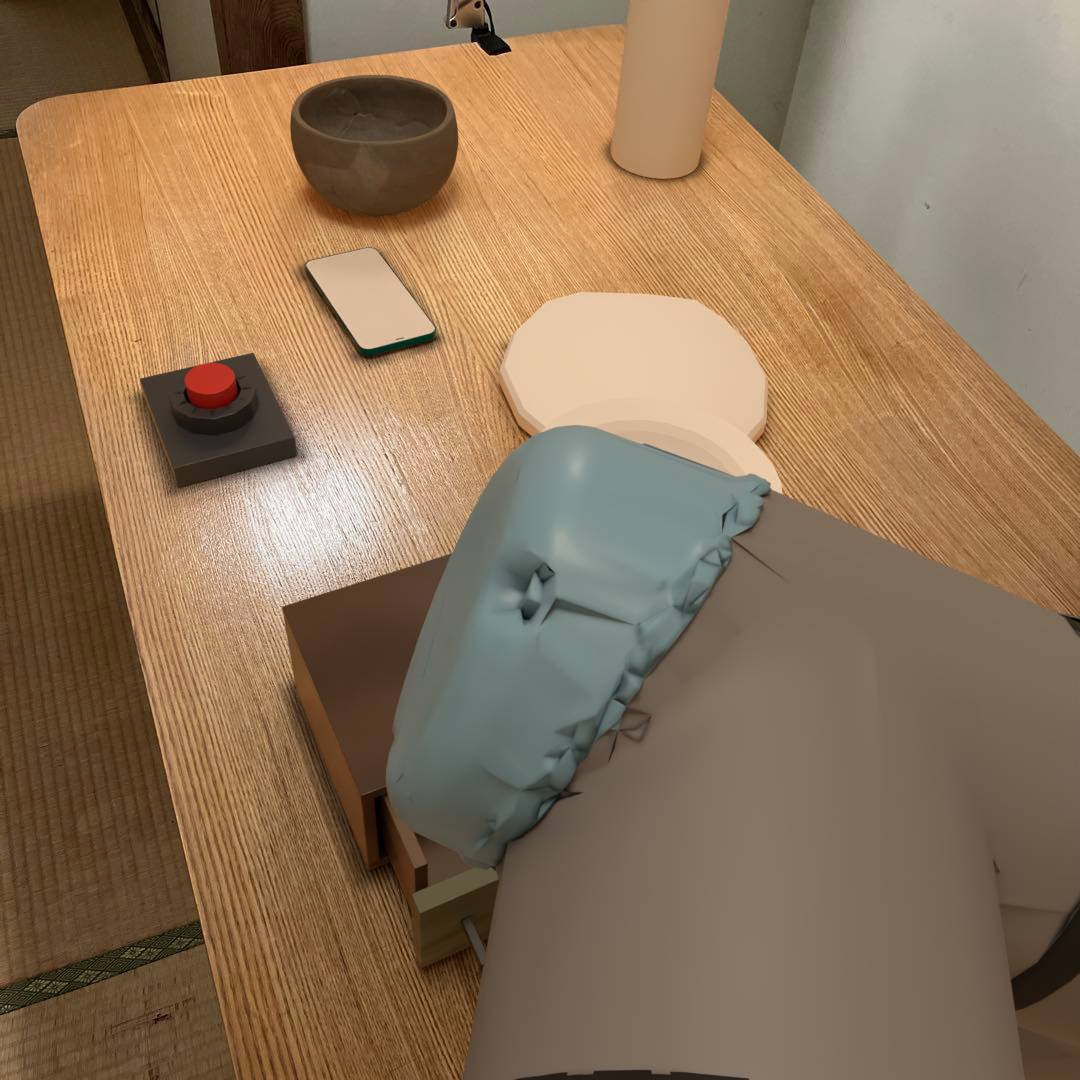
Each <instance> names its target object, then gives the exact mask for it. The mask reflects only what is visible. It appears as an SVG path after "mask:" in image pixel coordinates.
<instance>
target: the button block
mask: <svg viewBox="0 0 1080 1080" xmlns="http://www.w3.org/2000/svg"><path fill="white" fill-rule="evenodd" d="M209 363H219V364H223V365H226V366H228V367H229V368H230V369H231V370H232V371H233V372H234V375H235V380H236V386H237V397H236V399H235V400H234V401H233V402H232V403H230V404H229V405H227V406H225V407H221V408H217V409H203V408H198V407H196V406H194V405H193V404H192V403H191V402H190V401H189V398H188V394H187V390H186V385H185V377H186V375H187V373H188V372H189V371H190V370H191V369H193V368H194V367H196V366H199V365H202V364H203V363H201V364H197V365H193V366H188V367H184V368H179V369H175V370H171V371H166V372H163V373H158V374H153V375H149V376H144V377H140V378H139V384H140V386H141V390H142V394H143V397H144V398H143V399H144V401H145V403H146V406H147V408H148V411H149V415H150V416H151V420H152V422H153V424H154V427H155V430H156V432H157V435H158V439H159V440H160V443H161V446H162V449H163V451H164V454H165V457H166V459H167V463H168V465H169V468H170V470H171V473H172V476H173V479H174V481H175V485H176V486H177V488H182V487H185V486H186V487H187V486H189V485H193V484H196V483H200V482H205V481H207V480H212V479H215V478H220V477H223V476H226V475H230V474H234V473H238V472H243V471H245V470H250V469H253V468H257V467H260V466H264V465H268V464H272V463H275V462H279V461H283V460H287V459H291V458H294V457H297V456H298V450H297V443H296V437H295V435H294V433H293V431H292V428H291V427H290V424H289V422H288V420H287V419H286V416H285V414H284V412H283V409H282V408H281V406H280V404H279V402H278V399H277V398H276V396H275V394H274V392H273V390H272V388H271V385H270V383H269V380H268V379H267V377H266V374H265V373H264V371H263V369H262V367H261V365H260V363H259V361H258V359H257V356H256V355H255V353H254V352H249V353H245V354H241V355H236V356H233V357H228V358H223V359H218V360H214V361H211V362H209Z"/></svg>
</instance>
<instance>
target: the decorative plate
mask: <svg viewBox="0 0 1080 1080" xmlns="http://www.w3.org/2000/svg"><path fill="white" fill-rule="evenodd" d="M498 370H499V371H498V372H499V373H498V374H499V375H498V384H499V385H500V387H501V390H502V392H503V395H504V396H505V398H506V400H507V403H508V405H509V407H510V409H511V411H512V414H513V416H514V418H515V420H516V422H517V426H519V427H520V428H522V430H524V431H525V432H526V433H527V434H528V435H529V436H531V437H532V436H533V435H536V434H538V433H541V432H542V431H543V430H544V429H545V428H546V427H547V426H548V425H549V424H550V423H551V422H552V421H553V420H554V419H556V418H558V417H560V416H562V415H564V414H566V413H568V412H570V411H572V410H574V409H576V408H578V407H580V406H583V405H587V404H591V403H595V402H599V401H604V400H608V399H622V398H650V399H657V400H664V401H671V402H675V403H679V404H682V405H686V406H689V407H693V408H696V409H699V410H703V411H706V412H708V413H710V414H712V415H714V416H717V417H719V418H721V419H723V420H725V421H727V422H728V423H730V424H731V425H733V426H734V427H735V428H737V429H738V430H740V431H741V432H743V433H744V434H746V435H747V436H748V437H749V438H750V439H751V440H752V441H753V442H754V443H755V444H756V443H757V441H758V440H759V439H760V437H761V436H762V435H763V434H764V431H765V428H766V424H767V419H768V418H767V415H768V397H769V396H768V395H769V379H768V377H767V375H766V373H765V372H764V369H763V368H762V366H761V365H760V363H759V361H758V359H757V357H756V355H755V353H754V351H753V350H752V348H751V346H750V344H749V342H748V341H747V340H746V339H745V338H744V337H743V336H742V335H741V334H740V333H739V332H738V331H737V329H735V328H734V327H733V326H732V325H731V324H730V323H729V322H728V321H727V320H726V319H725V318H724V317H723V316H720V315H719V314H718V313H716V312H715V311H713V310H712V309H710V308H709V307H707V306H705V305H704V304H702V303H701V302H700V301H698V300H697V299H693V298H686V297H685V298H684V297H677V296H669V295H668V296H667V295H662V294H661V295H660V294H654V293H653V294H652V293H632V292H631V293H630V292H628V293H627V292H599V291H598V292H596V291H592V292H591V291H580V292H575V293H571V294H568V295H565V296H560V297H557V298H554V299H550V300H547V301H545V302H544V303H543V304H542V305H541V306H540V307H539V308H538V309H537V310H536V311H534V313H533V314H532V315H530V316H529V317H528V319H526V320H525V321H524V322H523V323H522V324H521V325H520V326H519V327H518V328H517V329H516V330H515V331H514V332H513V333H512V334H511V336H510V339H509V341H508V344H507V347H506V350H505V353H504V356H503V359H502V361H501V364H500V367H499V369H498Z"/></svg>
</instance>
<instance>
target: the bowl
mask: <svg viewBox="0 0 1080 1080" xmlns="http://www.w3.org/2000/svg"><path fill="white" fill-rule="evenodd" d="M455 111H456V110H455V108H454V106H453V103H452V100H451V99H450V98H449V97H448V95H447V94H446V93H444V92H443V91H442V90H441V89H439V88H438V87H437V86H435V85H433V84H431V83H428V82H425V81H422V80H419V79H416V78H415V79H414V78H410V77H403V76H398V75H390V74H360V75H349V76H343V77H338V78H332V79H330V80H326V81H323V82H320V83H318V84H316V85H315V84H314V85H313V86H311V87H309V88H307V89H306V90H304V91H302V92H301V93H300V94H299V95H298V96H297V97H296V99H295V100H294V102H293V105H292V108H291V113H290V123H289V124H290V125H289V127H290V141H291V144H292V145H291V146H292V151H293V153H294V156H295V157H294V158H295V160H296V163H297V165H298V167H299V169H300V171H301V173H302V175H303V176H304V178H305V180H306V181H307V183H308V184H309V185H310V187H311V188H312V190H313V191H314V193H315V194H316V195H317V196H318V197H319V198H321V199H322V200H324V201H326V202H327V203H328V204H330V205H332V206H333V207H335V208H337V209H340V210H341V211H345V212H348V213H352V214H355V215H358V216H364V217H371V218H373V217H375V218H380V217H381V218H382V217H392V216H397V215H401V214H405V213H407V212H410V211H412V210H414V209H417V208H419V207H421V206H423V205H424V204H426V203H428V202H429V201H430V200H432V199H433V198H434V197H435V196H436V195H437V194H438V193H439V192H440V191H441V190H442V189H443V187H444V186H445V184H447V182H448V181H449V179H450V176H451V175H452V172H453V170H454V167H455V164H456V161H457V156H458V149H459V128H458V122H457V116H456V112H455Z"/></svg>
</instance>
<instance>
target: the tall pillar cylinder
mask: <svg viewBox="0 0 1080 1080" xmlns="http://www.w3.org/2000/svg"><path fill="white" fill-rule="evenodd" d="M628 3H629V4H628V9H627V10H628V11H627V19H626V27H625V35H624V42H623V50H622V57H621V65H620V74H619V80H618V81H619V82H618V89H617V99H616V105H615V111H614V112H615V113H614V120H613V129H612V137H611V145H610V155H611V158H612V160H613V161H614V162H615V163H616V164H617V165H618V166H619V167H620V168H622V169H623V170H625V171H626V172H629V173H631V174H633V175H637V176H640V177H643V178H644V177H645V178H649V179H659V180H669V179H670V180H671V179H677V178H682V177H684V176H687V175H689V174H691V173H692V172H694V171H695V170H696V169H697V167H698V166H699V163H700V159H701V153H702V148H703V142H704V138H705V133H706V128H707V122H708V117H709V114H710V113H709V112H710V108H711V102H712V98H713V93H714V92H713V91H714V86H715V82H716V76H717V70H718V66H719V60H720V55H721V51H722V45H723V40H724V35H725V30H726V25H727V21H728V20H727V19H728V15H729V9H730V4H731V0H629V2H628Z"/></svg>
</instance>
